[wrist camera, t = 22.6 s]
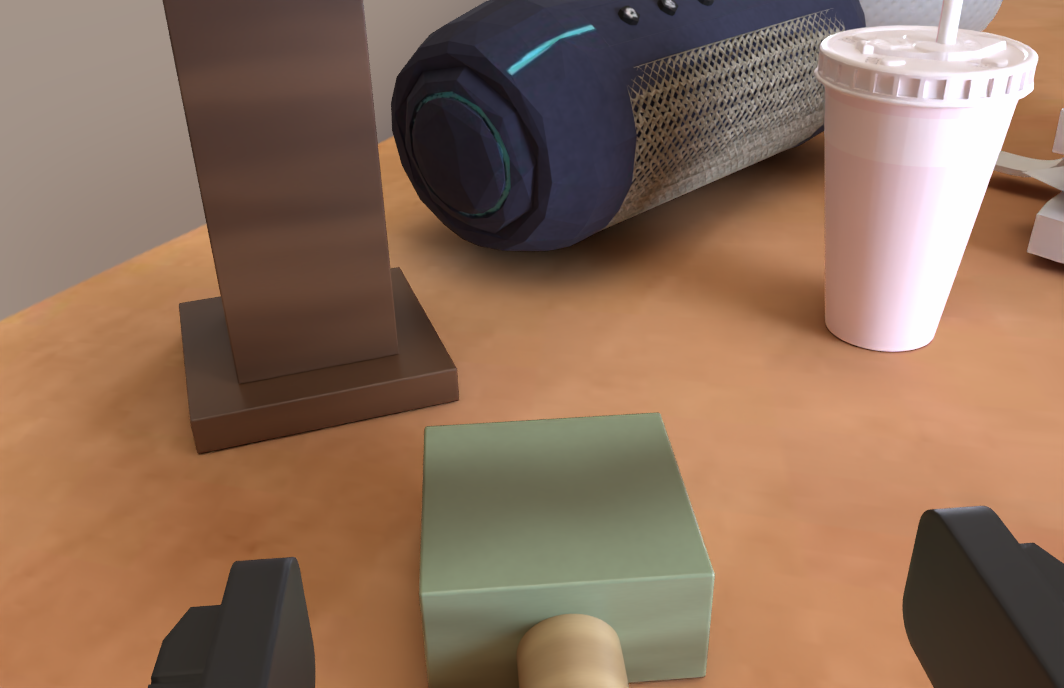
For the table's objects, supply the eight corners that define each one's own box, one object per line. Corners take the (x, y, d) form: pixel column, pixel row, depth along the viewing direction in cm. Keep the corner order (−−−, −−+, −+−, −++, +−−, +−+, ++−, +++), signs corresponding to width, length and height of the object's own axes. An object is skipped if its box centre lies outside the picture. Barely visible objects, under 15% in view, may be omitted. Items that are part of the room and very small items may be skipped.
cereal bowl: (938, 107, 58) (961, -22, 54) (689, 66, 67) (695, -46, 63) (1025, 49, 69) (1049, -60, 65) (801, 21, 78) (812, -76, 75)
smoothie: (1006, 372, 32) (1122, -99, 25) (806, 373, 32) (868, -93, 26) (940, 284, 38) (1021, -122, 31) (770, 285, 38) (813, -117, 31)
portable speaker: (543, 314, 36) (538, 34, 31) (378, 240, 43) (352, -3, 38) (884, 148, 52) (917, -59, 47) (725, 111, 58) (739, -75, 53)
